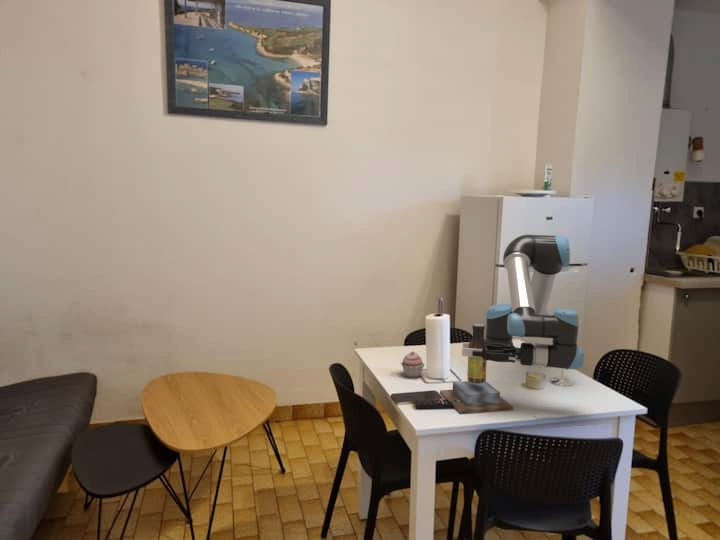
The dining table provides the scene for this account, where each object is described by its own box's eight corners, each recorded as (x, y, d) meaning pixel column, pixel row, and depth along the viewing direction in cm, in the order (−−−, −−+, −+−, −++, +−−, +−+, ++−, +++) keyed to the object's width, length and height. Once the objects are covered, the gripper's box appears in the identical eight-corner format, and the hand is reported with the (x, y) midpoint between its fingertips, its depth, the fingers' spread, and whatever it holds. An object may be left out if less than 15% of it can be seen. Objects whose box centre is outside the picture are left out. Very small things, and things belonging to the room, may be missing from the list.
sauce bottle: (486, 385, 174) (488, 328, 171) (467, 383, 175) (469, 326, 172) (485, 378, 180) (488, 323, 177) (467, 377, 182) (469, 322, 179)
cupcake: (395, 375, 204) (396, 351, 202) (409, 370, 211) (410, 346, 209) (414, 381, 198) (415, 356, 196) (428, 375, 205) (429, 351, 203)
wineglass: (574, 381, 200) (578, 331, 198) (570, 387, 194) (574, 336, 191) (553, 377, 205) (557, 328, 202) (548, 383, 198) (552, 332, 196)
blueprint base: (488, 390, 190) (489, 376, 189) (513, 410, 172) (514, 395, 172) (439, 393, 186) (440, 379, 185) (459, 414, 168) (460, 398, 168)
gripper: (535, 374, 164) (461, 368, 169) (529, 357, 182) (462, 351, 187) (536, 351, 163) (462, 345, 168) (530, 336, 181) (463, 331, 186)
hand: (462, 349), depth 177 cm, fingers closed on sauce bottle, 6 cm apart
